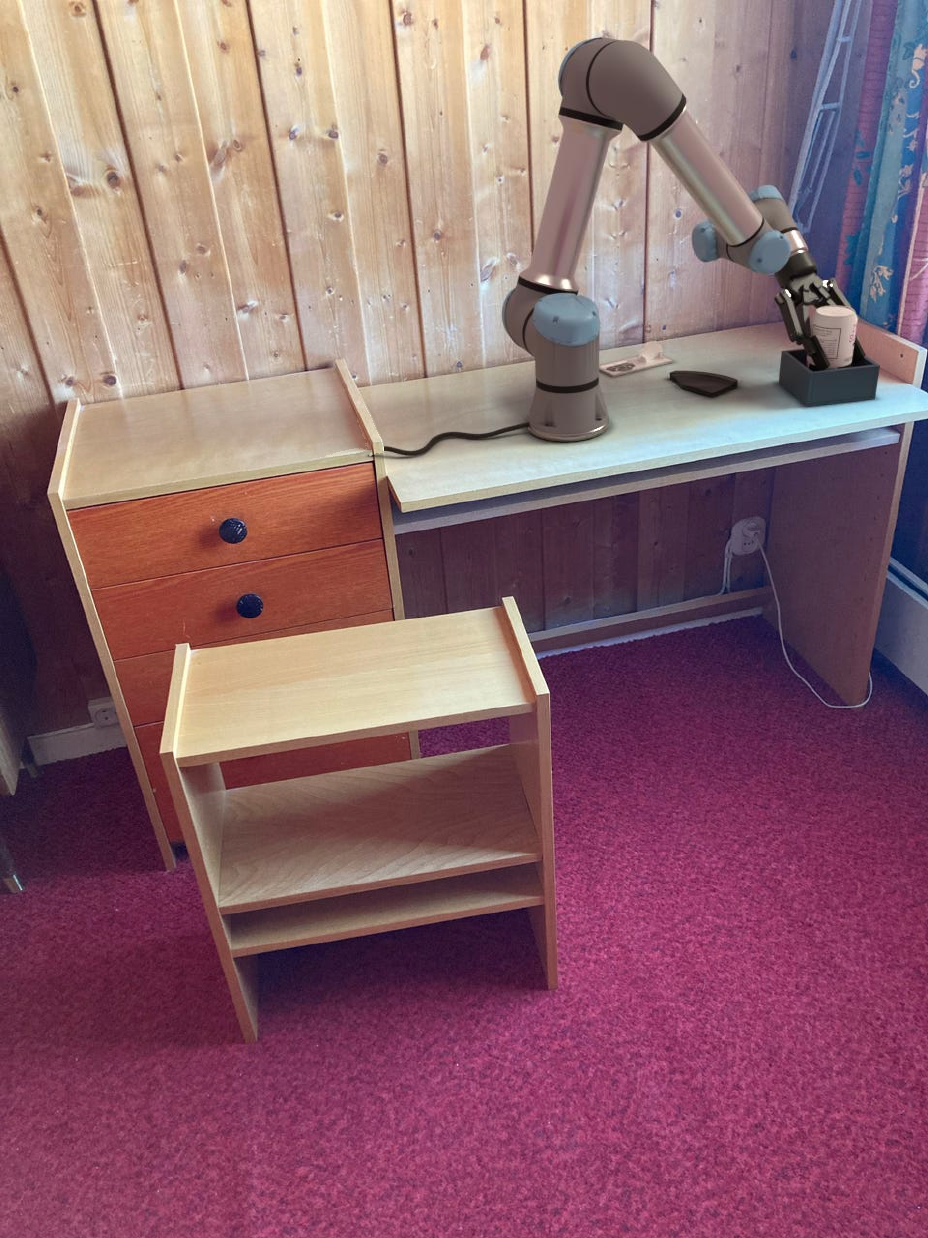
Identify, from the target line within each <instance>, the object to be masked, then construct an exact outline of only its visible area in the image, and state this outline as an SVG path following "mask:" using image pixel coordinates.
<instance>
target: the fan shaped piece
mask: <svg viewBox="0 0 928 1238" xmlns="http://www.w3.org/2000/svg"><path fill="white" fill-rule="evenodd" d="M668 374H669V380H671V381H672V382H674V383H676V384H677V385H678V386H679V387H680V388H681V389H683V390H686V391H690V392H694V393H696V394H697V393H698V394H701V395H705V396H708V397H711V398H712V397H715V396H718V395H720V394H723V393H725V392H727V391H729V390H733V389H736V388H738V383H739V379H737V378H735V377H731V376H728V375H724V374H720V373H715V372H708V371H699V370H673V371H669V372H668Z"/></svg>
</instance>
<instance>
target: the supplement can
mask: <svg viewBox="0 0 928 1238" xmlns="http://www.w3.org/2000/svg"><path fill="white" fill-rule="evenodd" d="M852 308H853V307H852ZM852 308H850V307H846V306H824V307H820V308H818V309H817V308H816V311H815V312H814V314H813V315H812V317H811V319H810V328H811V336H810V337H812V336H814V335H816V337H817V339H818V341H819V343H820V345H821V347H822V349H823V351H824V353H825V355H826V357H827V359H828V361H829V363H830V366H829V367H828V368H827V369H825V370H832V369H841V368H849V367H851V364H852V357H853V350H854V343H855V335H856V333H857V327H858V321H859V320H858V319H857V316H856V314H857V313H856V314H855V312H856V310H855V309H854V308H853V309H852ZM806 367H807V368H808V369H810V370H811V371H812V372H814V371H818V370H817V368H816V366H815V364H814V362H813V360H812V358H811V357H809V356H808V355H807V363H806Z"/></svg>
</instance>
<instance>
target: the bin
mask: <svg viewBox="0 0 928 1238" xmlns="http://www.w3.org/2000/svg"><path fill="white" fill-rule="evenodd" d="M780 354H781V355H780V364H779V365H780V366H779V373H778V384H779V385H780V386H782V388H783V389H785V390H786V391H787V392H788V393H789V394H790V395H792V396H793V398H795V399H796V400H797V401H799V402H800V403H801V404H802V405H803V406H805V407H806V408H810V407H818V406H826V405H836V404H844V403H845V404H846V403H853V402H861V401H870V400H871V401H872V400H875V399H876V395H877V388H878V381H879V375H880V374H879V373H880V368H881V365H880V364H879V363H877V362H876V361H874V360H873V359H872V358H870V357H868V356H864V357H863V358H862V359H861V360H859V361H858V362H857V363H854V362H853V360H852V364H851V367H849V368H841V369H832V370H823V371H814V372H812V371H811V370H810V369H808V368H807V367H806V363H807V353H806V351H805V349H804V348H796V349H795V348H794V349H787V350H781V353H780Z"/></svg>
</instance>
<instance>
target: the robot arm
mask: <svg viewBox="0 0 928 1238" xmlns="http://www.w3.org/2000/svg"><path fill="white" fill-rule="evenodd" d="M557 85H558V90H559V94H560V96H561V102H560V106H559V110H558V114H557V118H558V121H559V122H560V124H561V127H562V134H561V137H560V143H559V146H558V150H557V153H556V159H555V162H554V166H553V170H552V174H551V179H550V182H549V185H548V186H549V187H548V190H547V194H546V199H545V203H544V206H543V211H542V214H541V219H540V222H539V227H538V231H537V235H536V240H535V242H534V248H533V251H532V255H531V259H530V263H529V266H528V267H526V268H525V269H523V270H521V271H520V272H519V273H518V278H517V281H516V286H515V287H514V288H513V289H512V290H510V291H509V292H508V294H507V295H506V296H505V298H504V300H503V303H502V308H501V323H502V326H503V329H504V330H505V332H506V334H507V335H508V337H509V338H510V339H511V341H512V342H513V343H514V344H515V345H517V347H520V348H521V349H523V350H524V351H525V352H527V353H528V354H529V355H530V356H532V357H533V358H534V365H535V366H534V367H535V368H534V369H535V389H534V390H535V391H534V394H533V396H532V399H531V403H530V407H529V410H528V414H527V421H526V422H522V423H518V424H515V425H510V426H505V427H502V428H499V429H496V430H492V431H488V432H482V433H470V432H462V431H446V432H442V433H439V434H436V435H435V436H434V437H432V438H431V439H430V441H429V442H428V443H427V444H426V445H425V446H423V447H422V448H419V449H415V450H407V449H401V448H397V447H394V446H387V445H383V446H384V451H383V452H388V453H393V454H397V455H401V456H405V457H414V456H418V455H423V454H424V453H426V452H428V451H429V450H430V449H431V448H432V447H433V446H434V445H435V443H436V442H438V441H439V440H443V439H445V438H453V437H454V438H457V437H458V438H464V439H472V440H473V439H474V440H477V439H478V440H479V439H481V440H482V439H488V438H492V437H496V436H499V435H502V434H506V433H509V432H513V431H517V430H522V429H525V428H527V430H528V433H530V434H532V435H533V436H534V437H537V438H539V439H542V440H546V441H550V442H551V441H552V442H560V443H561V442H563V443H564V442H565V443H567V442H579V441H585V440H589V439H593V438H595V437H598V436H600V435H602V434H604V433H605V432H606V431H607V430H608V429H609V424H610V418H609V412H608V409H607V406H606V403H605V400H604V396H603V394H602V391H601V388H600V370H599V366H600V335H601V334H600V331H601V320H600V311H599V308H598V305H597V304H596V302H594V301H593V300H592V299H591V298H589V297H587V296H586V295H585V296H584V295H581V294H580V295H579V291H580V286H579V285H578V282H576V279H575V274H576V271H577V268H578V263H579V260H580V255H581V252H582V248H583V244H584V240H585V238H586V233H587V230H588V225H589V222H590V218H591V214H592V212H593V211H592V210H593V207H594V204H595V199H596V196H597V193H598V188H599V185H600V182H601V177H602V174H603V171H604V166H605V163H606V159H607V155H608V151H609V147H610V143H611V141H612V140H613V139H615V138H616V137H618V136H619V135H620V134H622V132H623V128H624V125H625V126H626V127H627V128H628V129H629V130H630V131H632V133H633V134H634V135H635V136H636V138H637V139H638V140H639V141H640V142H641V143H645V144H647V143H649V144H650V145H651V146H652V148H653V149H654V150H655V152H656V153H657V154H658V155H659V157H660V158H661V160H662V161H663V162H664V163H665V165H666V166H667V167H668V168H669V170H670V171H671V172H672V173H673V176H674V177H675V178H676V179H677V180H678V181H679V183H680V184H681V185H682V186H683V188H684V190H685V191H686V192H687V193H688V195H689V196H690V197H691V199H693V201H694V202H695V204H696V205H697V206H698V207H699V209H700V210H701V211H702V213H703V214H704V215H705V216H706V218H707V219H706V220H704V221H702V222H700V223H699V222H698V223H697V224H696V225H695V226H694V227H693V229H692V231H691V246H692V250H693V252H694V254H695V256H696V258H697V259H698V260H699V261H700V262H701V263H710V262H713V261H714V262H716V261H717V260H719V259H724V260H727V261H729V262H731V263H734V264H737V265H739V266H742V267H744V268H746V269H748V270H751V271H752V272H754V273H755V274H756V273H759V274H761V275H773V276H774V278H775V280H776V282H777V284H778V286H779V288H780V289H781V290H780V291H779V292H778V293H777V294H776V295H775V296H774V297H773V300H774V302H775V303H776V305H777V306H778V308H779V310H780V314H781V317H782V320H783V323H784V326H785V329H786V333H787V335H788V339H789V342H791V343H795V344H796V345H797V346H801V345H802V346H803V349H805V351H806V353H807V355H808V356H809V357H811V358H812V360H813V362H814V364H815V366H816V368H817V370H818V371H823V370H825V369H827V368H828V367H829V366H830V363H829V361H828V359H827V357H826V355H825V353H824V351H823V349H822V347H821V345H820V343H819V341H818V339H817V337H816V335H814V336H812V337H810V336H811V319H810V308H809V306H813V307H814V308H815V309H816V310H817V309H818V308H820V307H824V306H846V307H850V308H852V309H854V308H853V307H852V305H851V304H850V302H849V300H848V299H847V298H846V297H845V296H844V294H843V292H842V291H841V290H840V288H839V286H838V283H837V280H836V278H834V277H830V278H829V279H828V280H823V279H822V278H821V277H820V276H819V274H818V265H817V263H816V261H815V259H814V257H813V255H812V253H811V252H810V251H809V247H808V245H807V243H806V241H805V240H804V238H803V235H802V234H801V231H800V230H799V229H798V226H797V223H796V222H795V219H794V218H793V216H792V214H791V212H790V210H789V208H788V206H787V202H786V200H785V199H784V197H783V196H782V194H781V193H780V191H779V190H778V189H777V186H774V185H772V184H765V185H761V186H759V187H757V188H755V189H754V190H751V191H750V192H749V193H746V191H745V190H744V188H743V187H742V185H741V184H740V183H739V181H738V180H737V179H736V177H735V176H734V174H733V173H732V172H731V170H730V169H729V167H728V166H727V165H726V163H725V162H724V160H723V159H722V158H721V156H720V155H719V153H718V151H716V149H715V148H714V146H713V144H712V143H711V141H709V139H708V138H707V136H706V135H705V134H704V133H703V131H702V130H701V128H700V127H699V125H698V124H697V123H696V121H695V120H694V118H693V117H692V115H690V113H689V112H688V110H687V107H688V99H687V97H686V96H685V94H684V93H683V91H682V89H680V87H679V86H678V84H677V83H676V81H675V80H674V78H673V77H672V76H671V75H670V73H669V72H668V71H667V69H666V67H665V66H664V65H663V64H662V63H661V61H660V60H659V59H658V57H656V55H654V53H653V52H652V51H650V49H648V48H647V47H646V46H644V45H643V44H641V43H639V42H636V41H633V40H629V39H628V40H627V39H617V38H610V37H603V36H599V37H593V38H588V39H584V40H582V41H580V42H578V43H577V44H575V45H574V46H572V47H571V48H570V49H569V51H567V53H566V54H565V56H564V57H563V60H562V62H561V64H560V67H559V71H558V76H557ZM855 314H856V316H857V319H858V321H859V320H860V317H859V315H858V314H857V312H856V311H855ZM866 355H867V354H866V352H865V350H864V348H863V347H862V344H861V342H860V337H859V335H858V332H856V335H855V343H854V350H853V357H852V360H853V362H854V363H857V362H858V361H859V360H861V359H862V358H863V357H864V356H866Z"/></svg>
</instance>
